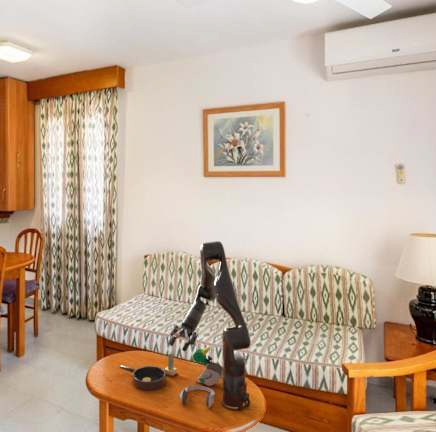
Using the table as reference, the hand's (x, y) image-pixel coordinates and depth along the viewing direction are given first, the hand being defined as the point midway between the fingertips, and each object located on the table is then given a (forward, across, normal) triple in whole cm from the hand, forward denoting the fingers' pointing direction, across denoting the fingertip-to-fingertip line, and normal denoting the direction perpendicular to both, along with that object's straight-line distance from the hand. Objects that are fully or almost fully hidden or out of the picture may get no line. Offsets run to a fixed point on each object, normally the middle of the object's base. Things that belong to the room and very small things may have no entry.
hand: (176, 348), depth 191 cm
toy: (+7, +20, +10) cm, 24 cm away
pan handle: (+20, -14, -7) cm, 26 cm away
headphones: (+18, +23, -1) cm, 29 cm away
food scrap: (+20, -3, -4) cm, 21 cm away
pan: (+20, -2, -4) cm, 21 cm away
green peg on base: (+12, 0, +5) cm, 13 cm away
